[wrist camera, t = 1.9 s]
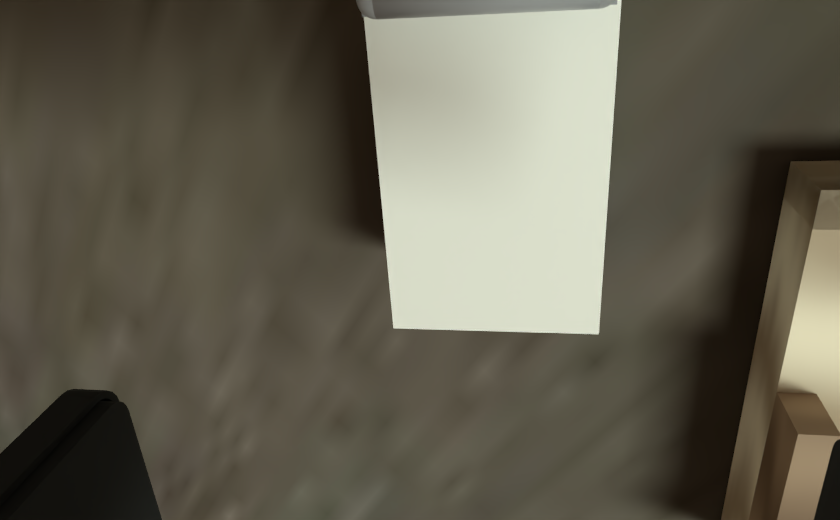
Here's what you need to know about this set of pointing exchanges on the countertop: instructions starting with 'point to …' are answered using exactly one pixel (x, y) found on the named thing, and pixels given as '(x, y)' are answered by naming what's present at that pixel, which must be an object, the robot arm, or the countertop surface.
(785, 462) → the dock
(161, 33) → the countertop surface
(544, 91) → the cream rod-topped slab
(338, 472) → the countertop surface
